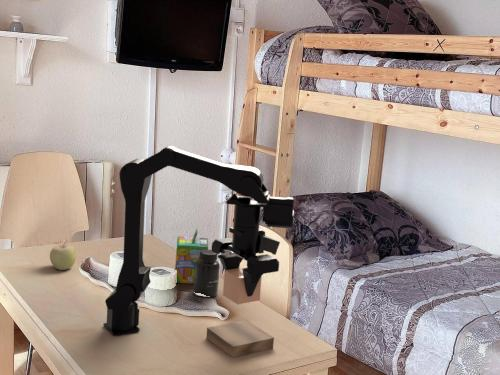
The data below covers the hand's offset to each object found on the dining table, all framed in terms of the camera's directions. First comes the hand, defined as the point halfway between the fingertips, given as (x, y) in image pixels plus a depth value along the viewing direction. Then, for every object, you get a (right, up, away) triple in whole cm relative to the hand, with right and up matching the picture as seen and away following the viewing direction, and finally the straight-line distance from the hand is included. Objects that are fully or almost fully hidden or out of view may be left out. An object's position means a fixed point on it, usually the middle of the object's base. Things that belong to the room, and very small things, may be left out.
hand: (241, 291), depth 145 cm
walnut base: (-1, -12, +2) cm, 12 cm away
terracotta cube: (0, -1, 0) cm, 2 cm away
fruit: (-53, 0, +42) cm, 67 cm away
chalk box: (-16, -3, +42) cm, 45 cm away
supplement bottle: (-10, -6, +31) cm, 33 cm away
